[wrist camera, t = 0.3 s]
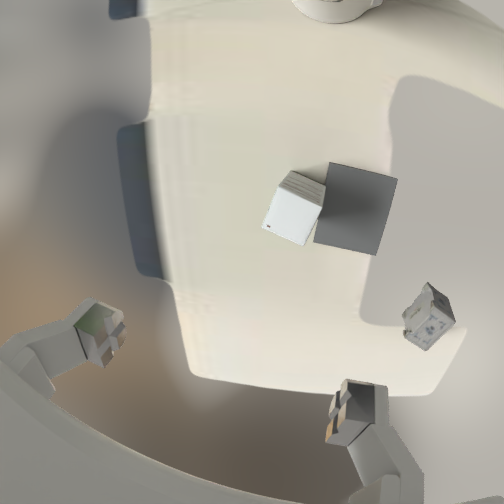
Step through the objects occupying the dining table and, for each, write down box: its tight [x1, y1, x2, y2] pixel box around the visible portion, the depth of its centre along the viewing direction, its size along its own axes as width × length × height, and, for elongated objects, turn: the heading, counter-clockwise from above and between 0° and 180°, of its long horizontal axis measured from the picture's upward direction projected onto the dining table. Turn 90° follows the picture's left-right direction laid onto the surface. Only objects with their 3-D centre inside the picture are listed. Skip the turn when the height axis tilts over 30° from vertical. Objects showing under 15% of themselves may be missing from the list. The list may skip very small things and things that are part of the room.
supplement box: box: [261, 171, 326, 246], centre depth 49 cm, size 7×7×13 cm
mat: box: [313, 162, 398, 255], centre depth 54 cm, size 16×13×1 cm
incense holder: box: [402, 282, 456, 351], centre depth 55 cm, size 10×8×10 cm
